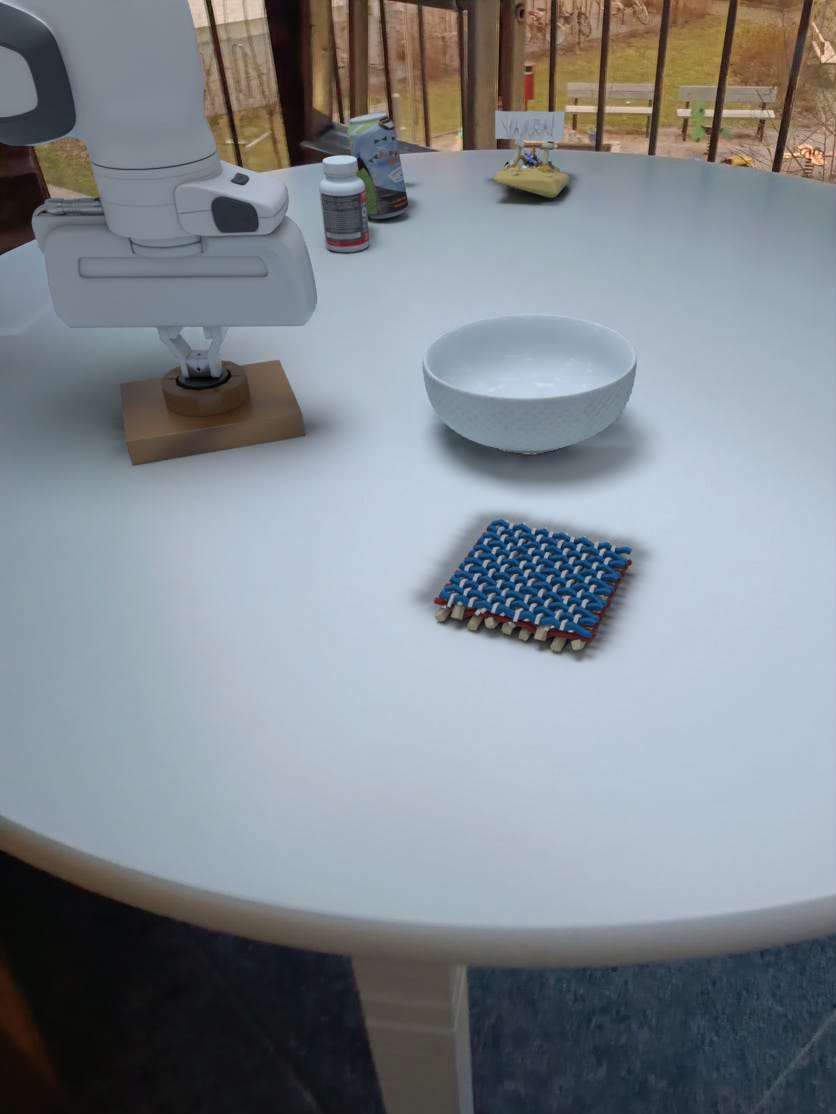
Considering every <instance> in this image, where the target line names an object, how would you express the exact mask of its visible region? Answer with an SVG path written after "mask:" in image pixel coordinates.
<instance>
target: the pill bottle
mask: <svg viewBox="0 0 836 1114" xmlns="http://www.w3.org/2000/svg"><path fill="white" fill-rule="evenodd" d="M357 170H358V165H357V159H356V158H355V157H353V156H351V155H345V154H344V155H343V154H341V155H332V156H328V157H325V158H323V159H322V172H323V175H325V177H324V178H323V179H322V180H321V181H320V183H319V185H318V188H319V189H318V191H319V198H320V199H319V200H320V208H321V216H322V225H323V235H324V243H325V246H326V247H325V248H327V249H328V250H329V251H331V252H332V251H333V252H336V253H348V254H349V253H355V252H360V251H363V250H365V249H366V248H368V247H369V246H370V232H369V220H368V218H369V217H368V215H367V206H366V193H365V185H364V182H363V181H362V179H360V178H359V177H356V173H357V172H358V171H357Z"/></svg>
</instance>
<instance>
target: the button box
mask: <svg viewBox="0 0 836 1114" xmlns="http://www.w3.org/2000/svg"><path fill="white" fill-rule="evenodd" d="M221 362H222V367H223V368H225V369H226V370H227V372H228V377H229V380H228V382H227V383H225V384H223V385H220V386H218V387H216V388H211V389H204V390H189V389H184V388H181V387H180V383H179V375H180V374H181V373H182V371H181V367H180V365H179V366H177V367H174V368H172V369H170V370H168V371H167V373H165V374H164V375H163V376H160V377H154V378H148V379H141V380H140V379H139V380H135V381H134V380H133V381H129V382H128V381H127V382H121V383H119V384H118V385H119V394H120V402H121V411H122V420H123V430H124V438H125V444H126V449H127V452H128V456H129V458H130V462H131V464H132V466H138V465H144V464H150V463H156V462H161V461H167V460H173V459H178V458H185V457H191V456H196V455H201V454H202V455H203V454H208V453H214V452H219V451H221V452H222V451H226V450H233V449H237V448H238V449H239V448H244V447H249V446H254V445H255V446H256V445H261V444H262V445H263V444H266V443H268V444H269V443H274V442H278V441H285V440H290V439H297V438H301V437H306V429H305V423H304V416H303V412H302V408H301V406H300V404H299V402H298V400H297V397H296V395H295V392H294V390H293V388H292V385H291V383H290V381H289V379H288V377H287V374H286V371H285V370H284V368H283V365H282V363H281V360H280V359H273V360H269V361H268V360H267V361H262V362H261V361H260V362H254V363H249V364H241V365H240V364H238V363H236V362H233V361H231V360H221Z"/></svg>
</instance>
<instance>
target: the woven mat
mask: <svg viewBox="0 0 836 1114" xmlns="http://www.w3.org/2000/svg"><path fill="white" fill-rule="evenodd" d="M509 522H510V520H509V519H506V520H504V519H502V518H500V519H497V520H492V521H491V522H490V524H488V525H487V527H486V531H484V532H483V533H482V534H481V536H480V537H479V538H478V539H477V541H476V542H475V543H474V545H473V547H472V549H471V550H470V551H469V552H467V556H465V557H464V559H463V562H461V563H460V564H459V565H458V566H457V568H458V569H459V570H458V569H456V570H455V571H454V573H453V575H451V577H450V579H449V581H448V582H449V583H445V584H444V588H443V589H442V590H441V591H440V592H439V594H438V596H436V597H435V598H434V600H433V604H435V605H438V606H440V607H439V609H438V611H436V614H435V615H434V618H435V619H436V621H437V622H438V621H440V622H439V623H441V622H443V621H446V619H447V618H448V616H449V615H450V613H451V615H450V617H451V618H452V619H453V618H454V619H457V620H461V621H463V618H467V617H470V616H472V617H471V618H470V620H469V622H468V623H467V625H466V627H467V628H468V629H469V630H470V629H471V630H475V631H477V629H478V628H479V626H480V624H481V622H482V621H483V619H484V625H485V627H486V628H488V629H495V628H496V627H497V626H499V623H503V624H502V627H501V632H502V633H503V634H504V633H505V634H504V635H507V636H510V635H511V634H512V632H513V631H514V629H515V628H516V627H519V628H521V630H519V631H520V632H519V635H518V639H520V640H522V639H523V640H522V641H524V642H526V641H527V640H528V639H529V638H530V636H531V634H533V635H534V637H533V639H535V640H539V641H542V642H546V639H549V638H553V637H554V639H553V641H552V642H551V644H550V649H551V651H552V650H554V651H553V652H561V651H562V649H563V648H564V646H565V643H566V641H567V640H571V641H570V644H571V647H572V650H573V651H574V652H575V651H579V650H582V649H584V647H585V644H586V643H588V644H591V642H592V640H593V639H595V638H596V636H597V633H596V632H595V631H594V630H599V627H600V624H601V622H599V621H602V620H603V619H604V613H606V611H607V609H608V608H611V605H612V602H611V600H610V599H608V598H614V597H615V592H617V590H618V588H619V586H618V585H621V583H622V578H624V577H625V575H626V571H627V570H628V568H629V567H630V566H632V564H633V561H632V559H631V558H629V559H628V558H627V556H626V555H629V556H631V554H632V551H633V548H630V547H628V546H622V547H621V546H620V547H618V545H615V544H613V545H612V544H610V543H611V541H610V540H606V541H605V542H599V541H596V542H592V541H591V540H589V539H588V535H583V536H581V537H579V538H578V536H569V532H565V533H564V532H556V531H554V530H553V531H549V530H548V528H549V527H547V526H544V527H543V528H539V527H533V528H530V527H528V526H527V522H521V523H519V524H518V523H516V522H510V523H509ZM593 629H594V630H593ZM471 630H470V631H471ZM508 634H509V635H508Z"/></svg>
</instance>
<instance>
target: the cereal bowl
mask: <svg viewBox="0 0 836 1114" xmlns="http://www.w3.org/2000/svg"><path fill="white" fill-rule="evenodd" d="M637 356H638V355H637V351H636V349H635V347H634V346H633V344H632V343H631V341H629V339H627V337H625V336H624V335H623V334H621V333H620V332H618V331H617V330H615V329H613V328H611V327H608V326H606V325H604V324H601V323H597V322H595V321H592V320H588V319H585V318H581V317H580V318H579V317H574V316H568V315H562V314H552V313H511V314H502V315H494V316H488V317H484V318H479V319H475V320H472V321H471V320H470V321H467V322H464V323H461V324H459V325H456V326H453V327H451V328H449V329H447V330H445V331H443V332H442V333H440V334H439V335H437V336H436V337H435V338H433V339H432V340H431V341H430V342H429V343H428V344H427V346H426V348H425V350H424V351H423V355H422V361H421V365H422V373H423V381H424V387H425V391H426V395H427V397H428V400H429V403H430V405H431V407H432V408H433V411H434V412H435V414H436V415H437V416H438V417H439V419H441V420H442V422H443V423H444V424H445V425H447V426H448V427H449V428H450V429H451V430H453V431H454V432H455V433H456V434H458V435H460V436H461V437H462V438H466V439H467V440H469V441H473V442H474V443H477V444H480V445H482V446H487V447H490V448H494V449H497V448H498V449H497V450H499V449H501V450H500V451H502V450H505V451H504V452H506V451H508V452H507V453H510V452H514V453H513V454H516V453H522V454H521V455H525V454H524V453H529V454H528V455H535V454H534V453H542V454H544V453H543V452H547V451H552V452H554V451H553V450H555V451H557V450H556V449H558V450H560V449H559V448H561V447H563V448H565V447H570V446H573V445H576V444H580V443H581V442H585V441H586V440H588V439H590V438H593V437H594V436H596V435H598V434H599V433H601V432H602V431H604V430H607V428H608V427H609V426H610V425H612V424H613V423H614V421H616V420H617V419H618V417H619V416H620V415H621V414H622V413H623V411H624V410H625V409H626V407H627V403H628V402H629V401H630V397H631V395H632V393H633V388H634V385H635V379H636V376H637V375H636V373H637V366H638V363H637V362H638V357H637ZM561 449H562V448H561Z"/></svg>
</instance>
